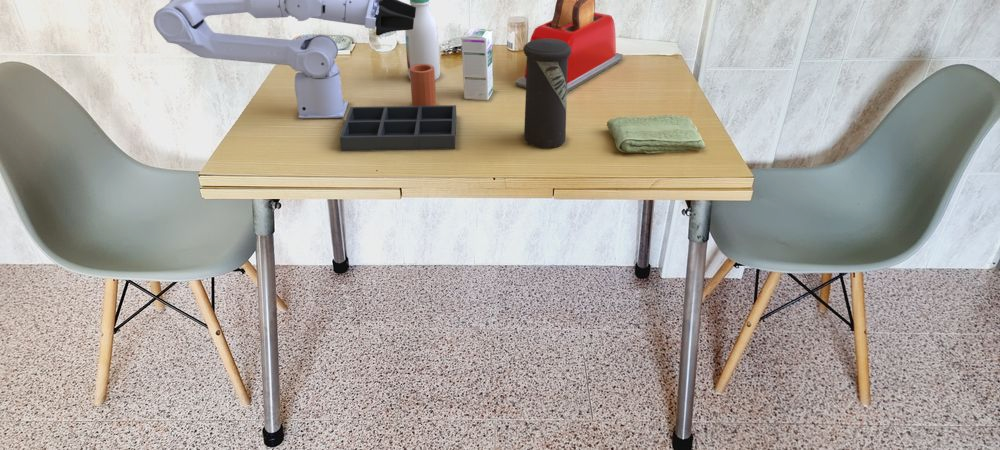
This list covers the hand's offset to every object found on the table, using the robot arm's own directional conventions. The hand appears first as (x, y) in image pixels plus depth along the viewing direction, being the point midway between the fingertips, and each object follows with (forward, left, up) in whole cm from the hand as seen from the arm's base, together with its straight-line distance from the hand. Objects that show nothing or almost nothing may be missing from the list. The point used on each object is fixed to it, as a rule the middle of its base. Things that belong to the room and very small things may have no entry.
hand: (414, 18), depth 148 cm
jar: (+1, +1, -20) cm, 20 cm away
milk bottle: (0, +20, -20) cm, 28 cm away
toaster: (+36, +22, -20) cm, 47 cm away
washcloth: (+48, -17, -20) cm, 55 cm away
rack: (-3, -12, -20) cm, 24 cm away
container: (+26, -16, -20) cm, 37 cm away
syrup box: (+13, +8, -20) cm, 25 cm away
